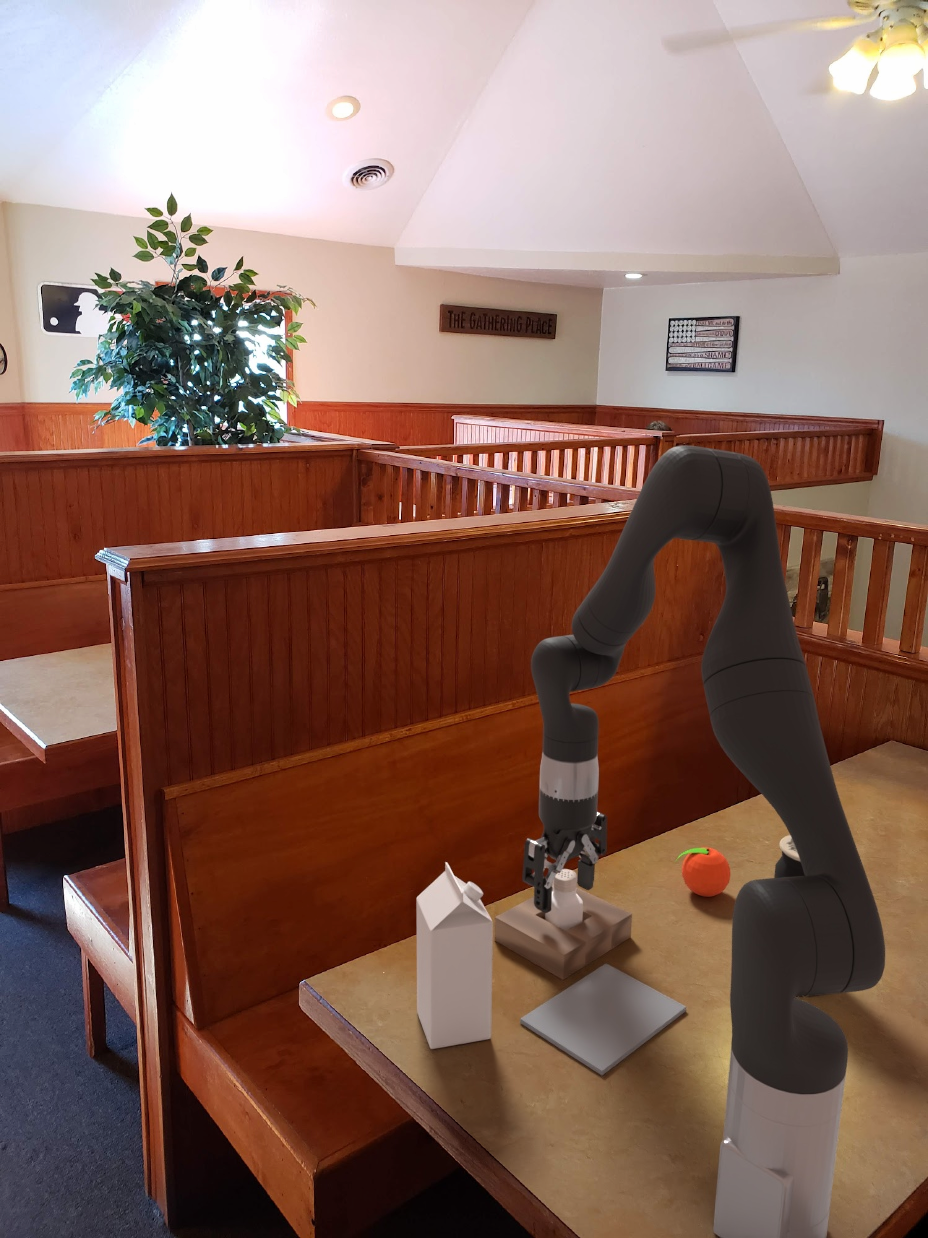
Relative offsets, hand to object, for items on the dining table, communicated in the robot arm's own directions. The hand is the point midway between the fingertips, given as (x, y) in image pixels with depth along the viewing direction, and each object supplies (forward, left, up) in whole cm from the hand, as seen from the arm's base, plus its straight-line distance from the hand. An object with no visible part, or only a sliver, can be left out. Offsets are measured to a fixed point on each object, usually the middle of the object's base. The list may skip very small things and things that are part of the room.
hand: (564, 898), depth 127 cm
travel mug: (+15, -26, -6) cm, 31 cm away
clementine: (+24, -6, -6) cm, 25 cm away
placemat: (-9, -14, -6) cm, 18 cm away
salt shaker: (0, 0, -6) cm, 6 cm away
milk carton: (-23, -3, -6) cm, 24 cm away
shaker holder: (0, 0, -6) cm, 6 cm away
